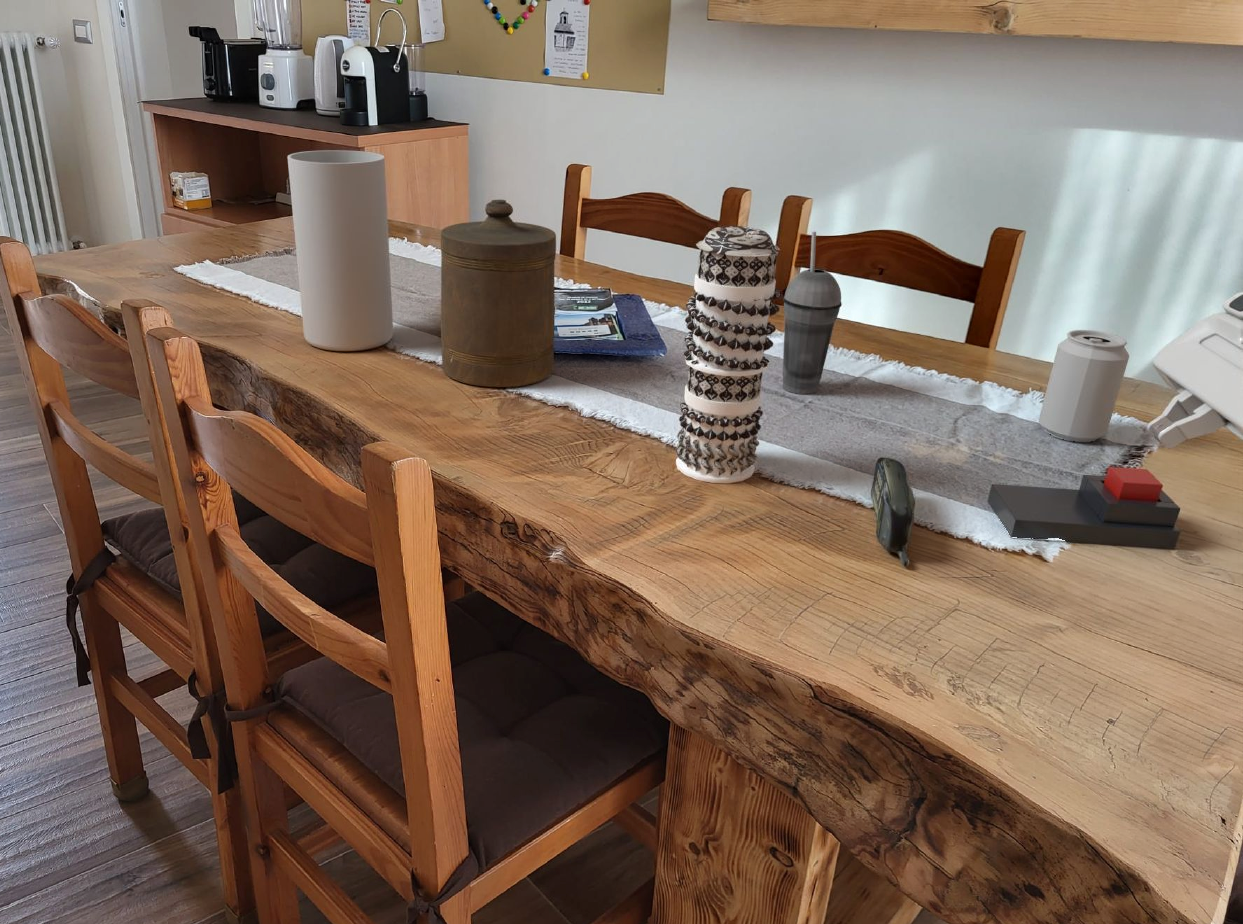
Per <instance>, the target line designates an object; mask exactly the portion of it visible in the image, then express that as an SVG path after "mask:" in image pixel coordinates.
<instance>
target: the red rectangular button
mask: <svg viewBox="0 0 1243 924" xmlns="http://www.w3.org/2000/svg"><path fill="white" fill-rule="evenodd" d="M1105 476H1106V478H1105V481H1104V485H1105V486H1106V487H1107V489H1108V490H1109V491H1110V492H1111V493H1112V494H1113V495H1114V496H1115V497H1116V499H1122V500H1137V501H1151V502H1158V499H1159V496H1160V493H1161V490H1163V487H1164V484H1162V482H1161V481H1159V480H1158V478H1157V477H1156V476H1154V475H1153V474H1152V473H1151V472H1150V471H1149V470H1148V469H1147V468H1134V467H1132V468H1131V467H1118V466H1117V467H1116V466H1108V469H1107V471H1106V475H1105Z"/></svg>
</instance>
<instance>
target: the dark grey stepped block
mask: <svg viewBox="0 0 1243 924" xmlns="http://www.w3.org/2000/svg"><path fill="white" fill-rule="evenodd" d="M1105 478H1106V475H1095V474H1083V476H1082V478H1081V481H1080V486H1079V488H1078V489H1073V488H1059V487H1057V488H1056V487H1044V486H1028V485H1014V484H1013V485H1012V484H1001V483H999V484H998V483H991V485H990V489H989V494H988V497H987V503H988V505H989V506H990V508H991V509H992V511H993V512H994V514H995V516H996V517H997V516H998V517H997V519H998V520H999V519H1000V520H999V522H1000V521H1001V522H1002V523H1001V522H1000V523H1001V525H1002V524H1003V525H1004V526H1003V525H1002V526H1003V528H1004V527H1005V528H1006V530H1007V531H1008V533H1009V534H1008V533H1007V534H1008V536H1009V535H1010V536H1011V537H1017V538H1031V539H1032V538H1033V539H1048V538H1059V539H1062V540H1065V541H1066V542H1065V543H1073V544H1086V545H1090V544H1091V545H1102V546H1115V547H1127V548H1129V547H1130V548H1144V549H1157V550H1171V551H1172V550H1173V551H1174V550H1175V549H1176V547H1177V544H1178V541H1179V538H1180V534H1181V530H1180V529H1179V528H1178V527H1177V526H1176V523H1177V520H1178V518H1179V514H1180V511H1181V507H1180V506H1179V505H1178V504H1177V503H1176V502H1175V501H1174V500H1173V499H1172V498H1171V497H1170V496H1169V495H1168V494H1167V493H1166V492H1165V491H1163V489H1162V490H1161V493H1160V496H1159V499H1158V502H1151V501H1137V500H1122V499H1116V497H1115V496H1114V495H1113V494H1112V493H1111V492H1110V491H1109V490H1108V489H1107V487H1106V486H1105V485H1104V481H1105ZM1005 528H1004V529H1005ZM1006 530H1005V531H1006ZM1007 531H1006V532H1007ZM1010 536H1009V537H1010ZM1011 537H1010V538H1011Z"/></svg>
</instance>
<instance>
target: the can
mask: <svg viewBox="0 0 1243 924" xmlns="http://www.w3.org/2000/svg"><path fill="white" fill-rule="evenodd" d="M1066 336H1067V338H1065V339H1064V340H1061V342H1059V344H1057V347H1056V352H1055V356H1054V359H1053V363H1052V367H1051V371H1050V375H1049V379H1048V382H1047V385H1046V390H1045V394H1044V398H1043V400H1042V406H1041V409H1040V412H1039V417H1038V423H1039V424H1040V426H1041V427H1042V428H1043V430H1044V431H1045V432H1046V434H1047V435H1050V434H1051V435H1050V436H1052V437H1054V438H1057V439H1060V440H1063V439H1064V440H1063V441H1068V442H1073V441H1075V442H1074V443H1092V442H1095V441H1097V439H1100V438H1102V437H1104V436H1105V435H1106V434H1107V433H1108V431H1109V426H1110V423H1111V419H1112V417H1113V414H1114V410H1115V406H1116V403H1117V399H1118V396H1119V393H1120V389H1121V386H1122V383H1123V379H1124V376H1125V373H1126V369H1127V366H1128V363H1129V360H1130V354H1129V352H1128V351H1127V349H1126V348H1125V346H1127V344H1128V342H1127V340H1126V339H1125V338H1124V337H1121V336H1118V335H1117V334H1113V333H1109V332H1105V331H1100V330H1093V329H1074V330H1070V331H1068V332H1067V333H1066ZM1091 441H1092V442H1091Z"/></svg>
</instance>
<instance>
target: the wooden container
mask: <svg viewBox="0 0 1243 924" xmlns="http://www.w3.org/2000/svg"><path fill="white" fill-rule="evenodd" d="M484 211H485V214H486V215H487V217H486V218H485V219H484V220H482V221H470V222H468V221H467V222H460V223H455V224H452V225H448V226H446V227H444V228H443V229H442V230H441V231H440V254H441V256H440V257H441V260H440V262H441V263H440V264H441V265H440V278H441V279H440V284H441V285H440V339H441V340H440V341H441V366H442V371H443V373H444V374H445V375H446V376H447V377H448V378H450V379H452V380H454V381H457V382H459V383H463V384H467V385H470V386H471V385H472V386H477V387H484V388H485V387H486V388H514V387H515V388H516V387H523V386H529V385H532V384H535V383H539V382H541V381H544V380H546V379H547V378H548V377H550V376H551V375H552V374H553V371H554V354H555V347H554V343H555V318H556V317H555V316H556V315H555V311H556V310H555V306H556V305H555V260H556V256H557V255H556V254H557V252H556V251H557V234H556V232H555V231H554V230H552V229H551V228H548V227H545V226H542V225H538V224H534V223H527V222H517V221H514V220H513V219H512V218H511V217H510V216H511V215H512V214H513V213H514V208H513V206H512V205H511V204H510V203H508V202H507V200H506V199H492V200H491V201H490V202H488V203H486V204H485V210H484Z"/></svg>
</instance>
